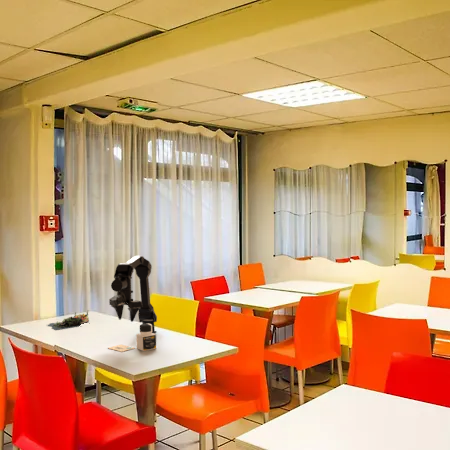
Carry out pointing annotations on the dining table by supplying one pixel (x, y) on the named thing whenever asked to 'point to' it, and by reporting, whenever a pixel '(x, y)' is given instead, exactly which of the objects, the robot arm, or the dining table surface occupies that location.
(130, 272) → the robot arm
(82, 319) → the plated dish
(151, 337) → the medicine bottle
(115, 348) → the envelope
